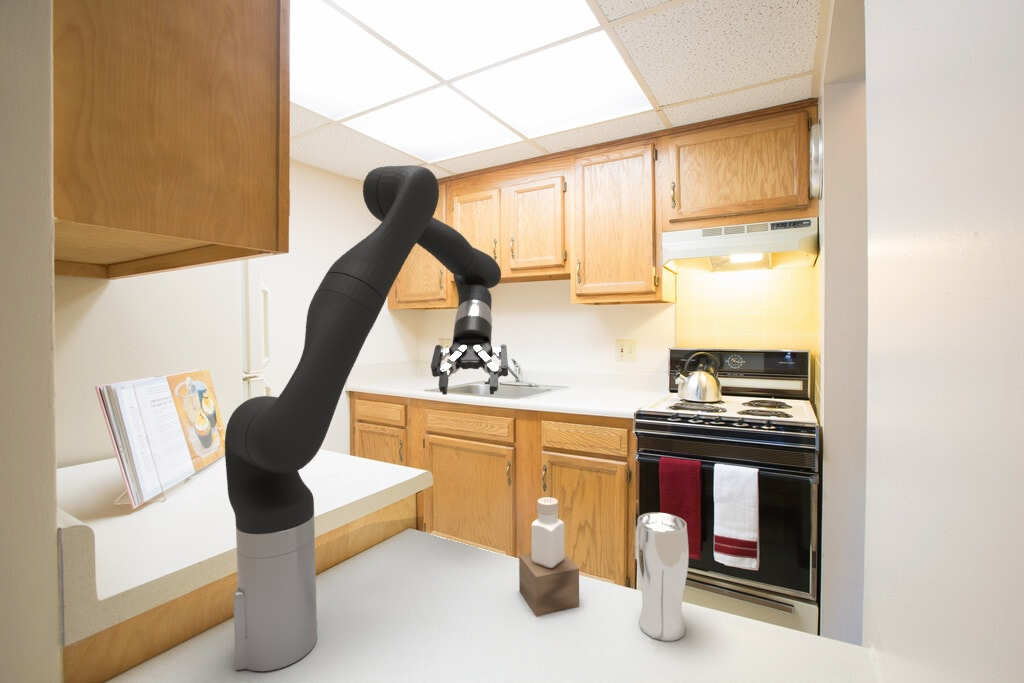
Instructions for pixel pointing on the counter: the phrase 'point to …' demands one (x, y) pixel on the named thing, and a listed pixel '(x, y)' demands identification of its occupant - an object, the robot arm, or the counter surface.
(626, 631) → the counter surface
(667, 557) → the beer glass
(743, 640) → the counter surface
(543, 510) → the pepper shaker
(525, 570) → the walnut block
